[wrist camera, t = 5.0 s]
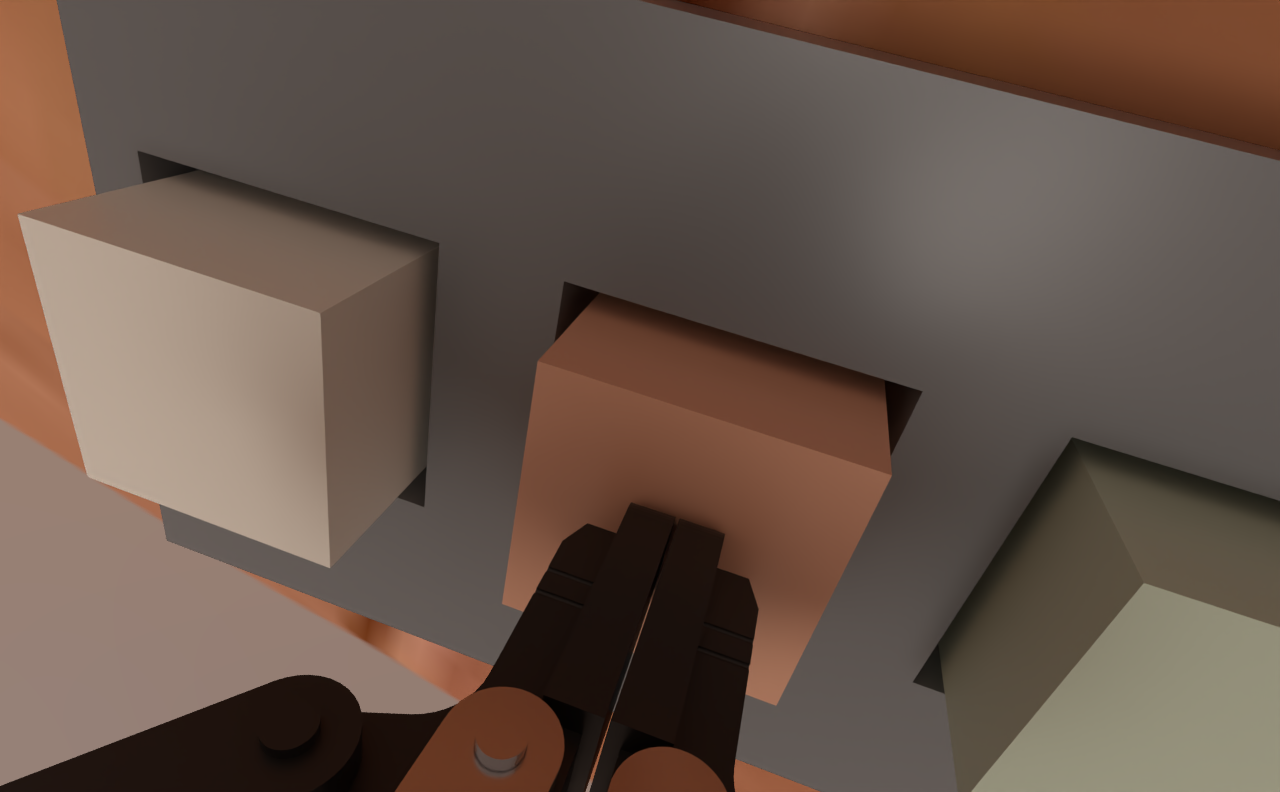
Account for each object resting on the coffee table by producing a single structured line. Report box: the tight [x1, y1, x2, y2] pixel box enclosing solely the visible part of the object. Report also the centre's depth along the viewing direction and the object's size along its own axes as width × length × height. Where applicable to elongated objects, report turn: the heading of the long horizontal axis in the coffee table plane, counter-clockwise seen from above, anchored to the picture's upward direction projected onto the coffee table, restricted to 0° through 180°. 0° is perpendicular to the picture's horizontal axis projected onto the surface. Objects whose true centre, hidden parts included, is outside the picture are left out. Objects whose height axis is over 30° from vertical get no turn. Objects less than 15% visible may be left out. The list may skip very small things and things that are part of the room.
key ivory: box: [18, 170, 439, 568], centre depth 13 cm, size 5×5×4 cm
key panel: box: [57, 0, 1280, 792], centre depth 14 cm, size 14×24×3 cm, turn 78°
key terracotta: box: [502, 293, 892, 706], centre depth 12 cm, size 5×5×4 cm
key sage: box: [938, 437, 1280, 792], centre depth 11 cm, size 5×5×4 cm
